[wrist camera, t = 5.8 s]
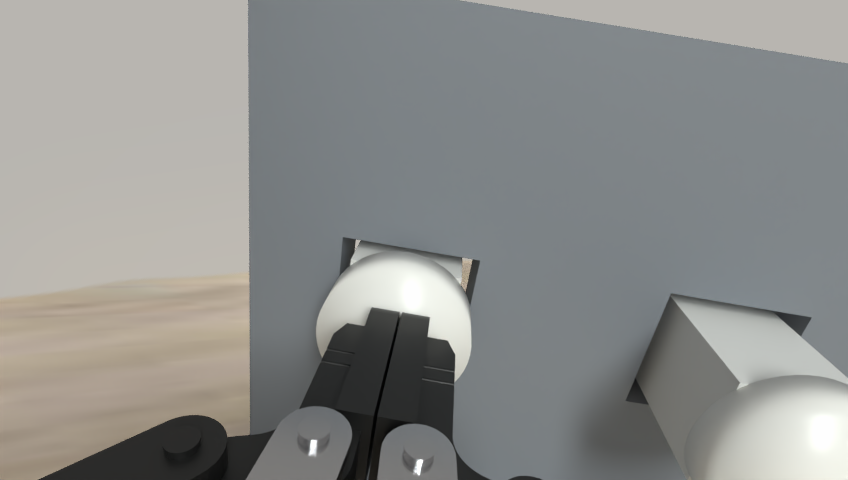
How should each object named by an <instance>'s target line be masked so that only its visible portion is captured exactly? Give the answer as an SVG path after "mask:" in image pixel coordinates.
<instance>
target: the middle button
mask: <svg viewBox="0 0 848 480" xmlns="http://www.w3.org/2000/svg"><path fill="white" fill-rule="evenodd" d="M635 378H636V380H637V382H638V384H639V386H640V388H641V390H642V392H643V394H644V396H645V398H646V400H647V402H648V404H649V406H650V408H651V410H652V412H653V414H654V416H655V418H656V420H657V422H658V424H659V426H660V428H661V430H662V432H663V434H664V436H665V438H666V440H667V442H668V444H669V446H670V447H671V449H672V451H673V453H674V455H675V457H676V459H677V461H678V463H679V465H680V467H681V469H682V471H683V473H684V475H685V477H686V479H687V480H848V378H847V377H846V376H845V375H844V374H843V373H842V372H840V371H839V370H838V369H837V368H836V367H835V366H834V365H832V364H831V363H830V362H829V361H828V360H827V359H826V358H824V357H823V356H822V355H821V354H820V353H819V352H818V351H817V350H815V349H814V348H813V347H812V346H811V345H810V344H809V343H807V342H806V341H805V340H804V339H803V338H802V337H801V336H800V335H798V334H797V333H796V332H795V331H794V330H793V329H792V328H790V327H789V326H788V325H787V324H786V323H785V322H784V321H783V320H781V319H780V318H779V317H778V316H777V315H776V314H775V313H773V312H772V311H771V310H766V309H760V308H754V307H748V306H742V305H737V304H731V303H725V302H719V301H713V300H707V299H702V298H696V297H690V296H684V295H678V294H672V293H671V295H670V297H669V299H668V302H667V304H666V306H665V309H664V311H663V314H662V316H661V318H660V321H659V323H658V325H657V328H656V330H655V332H654V335H653V337H652V339H651V342H650V344H649V347H648V349H647V351H646V354H645V356H644V358H643V361H642V363H641V365H640V368H639V370H638V372H637V375H636V377H635Z"/></svg>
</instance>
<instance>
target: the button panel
mask: <svg viewBox="0 0 848 480" xmlns="http://www.w3.org/2000/svg"><path fill="white" fill-rule="evenodd" d="M248 45H249V46H248V53H249V55H248V57H249V253H250V254H249V261H250V262H249V265H250V266H249V275H250V435H255V434H262V433H266V432H269V431H272V430H274V429H276V428H277V426H278V425H279V424H280V422H281V421H282V420H283V419H284V418H285V417H286V416H287V415H289V414H290V413H292V412H294V411H296V410H299V408H300V406H301V404H302V401H303V399H304V397H305V395H306V393H307V390H308V388H309V386H310V384H311V382H312V379H313V377H314V375H315V373H316V371H317V369H318V366H319V364H320V363H321V360H322V356H321V354H320V351H319V348H318V345H317V339H316V325H317V319H318V316H319V313H320V310H321V308H322V306H323V304H324V303H325V301H326V299H327V297H328V295H329V293H330V291H331V290H332V288H333V286H334V284H335V282H336V281H337V279H338V278H339V276H340V275H341V274H342V273H343V272H344V271H345V270H346V269H347V268H348V267H349V266H350V263H351V258H352V256H353V254H354V251H355V241H356V239H357V240H363V241H369V242H375V243H381V244H387V245H392V246H398V247H404V248H410V249H416V250H422V251H427V252H433V253H439V254H445V255H451V256H457V257H462V258H468V259H473V261H472V265H471V270H470V275H469V279H468V284H467V289H466V295H467V298H468V301H469V304H470V310H471V353H470V357H469V361H468V364H467V366H466V368H465V370H464V371H463V373H462V374H461V376H460V377H459V378H458V379H457V380H456V381H455V382H454V409H453V443H454V446H455V449H456V451H457V453H458V454H459V456H460V458H461V459H462V460H463V461H464V462H465V463H466V464H467V465H468V466H469V467H470V468H471V469H473V470H474V471H475V472H477V473H479V474H480V475H482V476H484V477H486V478H488V479H490V480H508V479H511V478H513V477H517V476H532V477H536V478H540V479H542V480H687V479H686V477H685V475H684V473H683V471H682V469H681V467H680V465H679V463H678V461H677V459H676V457H675V455H674V453H673V451H672V449H671V447H670V446H669V444H668V442H667V440H666V438H665V436H664V434H663V432H662V430H661V428H660V426H659V424H658V422H657V420H656V418H655V416H654V414H653V412H652V410H651V408H650V406H649V404H648V402H647V400H646V398H645V396H644V394H643V392H642V390H641V388H640V386H639V384H638V382H637V380H636V378H635V377H636V375H637V372H638V370H639V368H640V365H641V363H642V361H643V358H644V356H645V354H646V351H647V349H648V347H649V344H650V342H651V339H652V337H653V335H654V332H655V330H656V328H657V325H658V323H659V321H660V318H661V316H662V314H663V311H664V309H665V306H666V304H667V302H668V299H669V297H670V295H671V293H672V294H678V295H684V296H690V297H696V298H702V299H707V300H713V301H719V302H725V303H731V304H737V305H742V306H748V307H754V308H760V309H766V310H771V311H772V312H773V313H775V314H776V315H777V316H778V317H779V318H780V319H781V320H783V321H784V322H785V323H786V324H787V325H788V326H789V327H790V328H792V329H793V330H794V331H795V332H796V333H797V334H798V335H800V336H801V337H802V338H803V339H804V340H805V341H806V342H807V343H809V344H810V345H811V346H812V347H813V348H814V349H815V350H817V351H818V352H819V353H820V354H821V355H822V356H823V357H824V358H826V359H827V360H828V361H829V362H830V363H831V364H832V365H834V366H835V367H836V368H837V369H838V370H839V371H840V372H842V373H843V374H844V375H845V376H846V377H847V378H848V64H847V63H841V62H835V61H829V60H823V59H816V58H811V57H804V56H798V55H792V54H786V53H779V52H774V51H767V50H761V49H755V48H749V47H742V46H737V45H731V44H724V43H718V42H712V41H706V40H700V39H693V38H688V37H681V36H675V35H668V34H663V33H657V32H650V31H644V30H638V29H631V28H626V27H620V26H614V25H607V24H601V23H595V22H589V21H582V20H576V19H571V18H564V17H558V16H552V15H545V14H540V13H533V12H527V11H521V10H514V9H509V8H503V7H497V6H490V5H484V4H478V3H472V2H466V1H460V0H248ZM369 471H370V468H369ZM368 478H369V472H368V477H367V480H368Z"/></svg>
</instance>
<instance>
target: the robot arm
mask: <svg viewBox="0 0 848 480" xmlns="http://www.w3.org/2000/svg"><path fill="white" fill-rule="evenodd" d="M399 316H400V312H397V311H392V310H386V309H380V308H374V307H372V308H371V310H370V312H369V315H368V318H367V321H366V324H365V326H361V325H355V324H350V323H347V324H345V325H344V326H343V327H341V328H340V329H339V330H338V331H336V332H335V333H334V334H333V336H332V338H331V340H330V342H329V344H328V347H327V350H326V351H325V353H324V355H323V358H322V360H321V363H320V364H319V366H318V369H317V371H316V373H315V375H314V377H313V379H312V382H311V384H310V386H309V388H308V390H307V393H306V395H305V397H304V399H303V401H302V404H301V406H300V408H299V410H296V411H294V412H292V413H290V414H289V415H287V416H286V417H285V418H284V419H283V420H282V421H281V422H280V424H279V425H278V426H277V428H276V429H274V430H272V431H269V432H266V433H262V434H255V435H245V436H235V437H227V434H226V431H225V429H224V427H223V426H222V425H221V424H220V423H219V422H218V421H216V420H215V419H212V418H210V417H206V416H200V415H189V416H182V417H178V418H175V419H172V420H169V421H167V422H164V423H162V424H160V425H158V426H156V427H153V428H151V429H149V430H147V431H145V432H142V433H140V434H138V435H136V436H133V437H131V438H129V439H127V440H125V441H122V442H120V443H118V444H116V445H114V446H111V447H109V448H107V449H105V450H103V451H100V452H98V453H96V454H94V455H92V456H89V457H87V458H85V459H83V460H81V461H78V462H76V463H74V464H72V465H70V466H67V467H65V468H63V469H61V470H59V471H56V472H54V473H52V474H50V475H47V476H45V477H43V478H41V479H39V480H367V477H368V472H369V478H368V480H490V479H488V478H486V477H484V476H482V475H480V474H479V473H477V472H475V471H474V470H473V469H471V468H470V467H469V466H468V465H467V464H466V463H465V462H464V461H463V460H462V459H461V458H460V456H459V454H458V453H457V451H456V449H455V446H454V443H453V409H454V381H455V353H454V351H453V350H452V348H451V346H450V344H449V342H448V341H447V340H442V339H436V338H430V337H428V329H429V322H430V317H427V316H421V315H415V314H409V313H404V312H402V315H401V319H400V323H399ZM398 323H399V327H398ZM397 330H398V331H397ZM369 468H370V471H369ZM508 480H542V479H540V478H536V477H532V476H517V477H513V478H511V479H508Z"/></svg>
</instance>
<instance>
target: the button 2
mask: <svg viewBox="0 0 848 480" xmlns="http://www.w3.org/2000/svg"><path fill="white" fill-rule="evenodd" d="M461 280H462V257H457V256H451V255H445V254H439V253H433V252H427V251H422V250H416V249H410V248H404V247H398V246H392V245H387V244H381V243H375V242H369V241H363V240H361V241H360V243H359V245H358V247H357V249H356V251H355V252H354V254H353V256H352V258H351V263H350V266H349V267H348V268H347V269H346V270H345V271H344V272H343V273H342V274H341V275H340V276H339V278H338V279H337V281H336V282H335V284H334V286H333V288H332V290H331V291H330V293H329V295H328V297H327V299H326V301H325V303H324V304H323V306H322V308H321V310H320V313H319V316H318V319H317V325H316V339H317V345H318V348H319V351H320V354H321V356H322V358H323V355H324V353H325V351H326V350H327V347H328V344H329V342H330V340H331V338H332V336H333V334H334V333H335V332H336V331H338V330H339V329H340V328H341V327H343V326H344V325H345V324H347V323H350V324H355V325H361V326H365V324H366V321H367V318H368V315H369V312H370V310H371V308H372V307H374V308H380V309H386V310H392V311H397V312H400V316H399V323H400V319H401V315H402V312H404V313H409V314H415V315H421V316H427V317H430V322H429V329H428V337H430V338H436V339H442V340H447V341H448V342H449V344H450V346H451V348H452V350H453V351H454V353H455V381H456V380H457V379H458V378H459V377H460V376H461V374H462V373H463V371H464V370H465V368H466V366H467V364H468V361H469V357H470V353H471V310H470V304H469V301H468V298H467V295H466V293H465V291H464V289H463V288H462V286H461ZM399 323H398V327H399ZM397 331H398V330H397ZM455 381H454V382H455Z"/></svg>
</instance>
